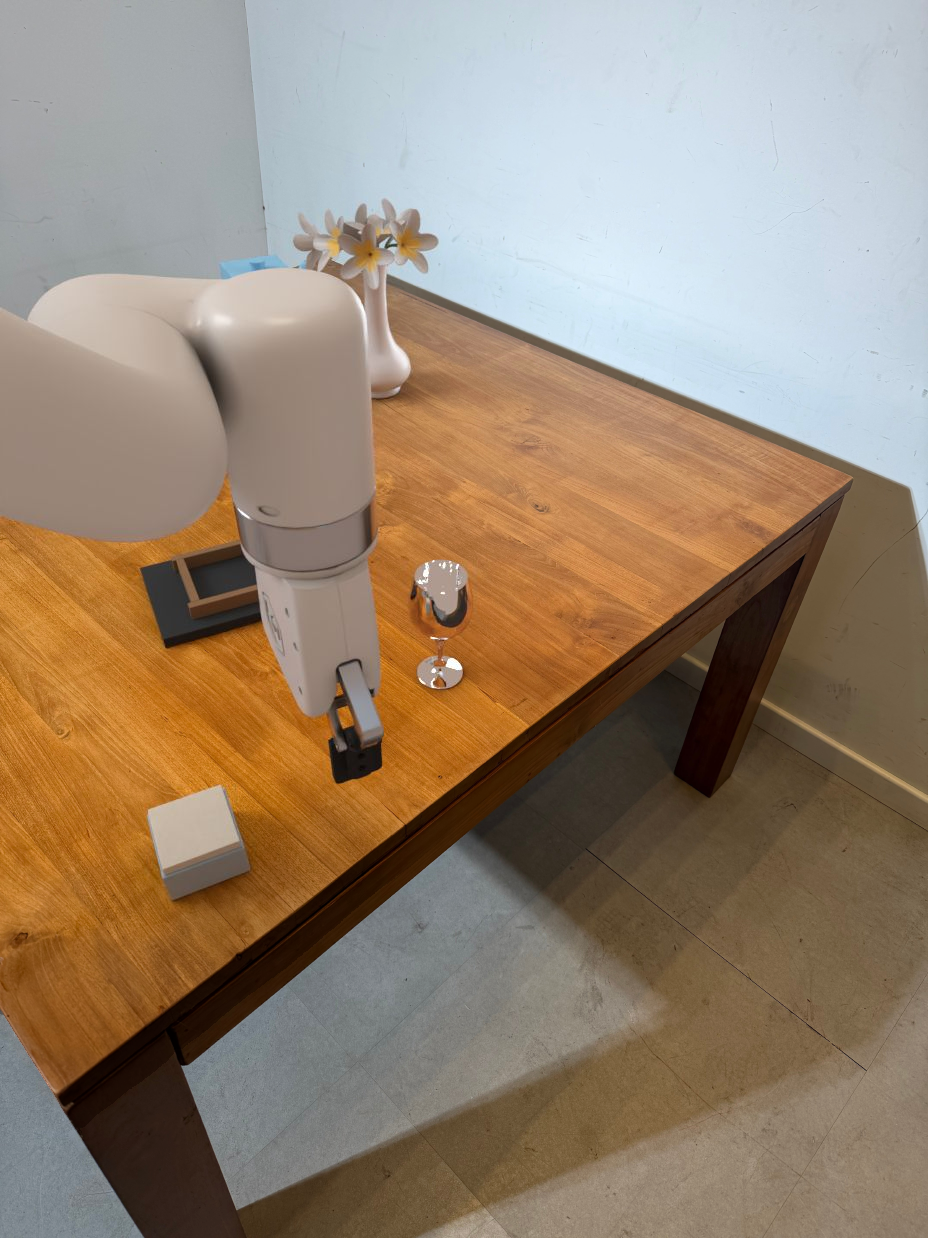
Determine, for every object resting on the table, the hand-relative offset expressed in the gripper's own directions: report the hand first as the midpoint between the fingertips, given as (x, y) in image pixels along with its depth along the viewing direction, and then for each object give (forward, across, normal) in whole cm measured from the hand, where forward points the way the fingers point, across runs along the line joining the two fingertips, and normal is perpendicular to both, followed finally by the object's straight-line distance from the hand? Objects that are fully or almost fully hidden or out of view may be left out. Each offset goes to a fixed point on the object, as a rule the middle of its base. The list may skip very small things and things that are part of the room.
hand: (332, 720), depth 57 cm
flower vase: (+14, -68, +29) cm, 76 cm away
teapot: (+14, -93, +21) cm, 97 cm away
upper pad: (+14, -3, -11) cm, 18 cm away
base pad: (+14, -33, -1) cm, 36 cm away
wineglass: (+14, -13, +14) cm, 24 cm away
